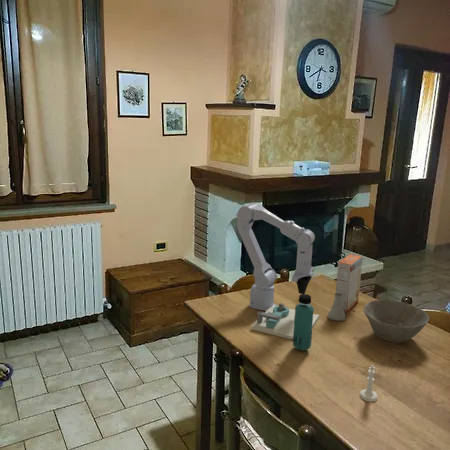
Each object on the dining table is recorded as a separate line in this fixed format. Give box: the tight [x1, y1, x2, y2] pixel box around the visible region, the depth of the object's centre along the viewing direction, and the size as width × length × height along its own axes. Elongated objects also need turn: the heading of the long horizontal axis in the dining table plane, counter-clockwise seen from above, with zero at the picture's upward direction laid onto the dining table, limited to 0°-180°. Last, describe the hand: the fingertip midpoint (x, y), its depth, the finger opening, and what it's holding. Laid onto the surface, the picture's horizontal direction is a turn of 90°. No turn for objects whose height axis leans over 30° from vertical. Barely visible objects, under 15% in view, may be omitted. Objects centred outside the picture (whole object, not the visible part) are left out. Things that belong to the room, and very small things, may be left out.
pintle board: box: [250, 302, 320, 341], centre depth 171 cm, size 20×22×5 cm
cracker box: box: [335, 253, 363, 313], centre depth 187 cm, size 14×6×21 cm, turn 144°
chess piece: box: [359, 364, 378, 403], centre depth 127 cm, size 5×5×10 cm
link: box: [266, 305, 290, 328], centre depth 172 cm, size 17×6×2 cm, turn 156°
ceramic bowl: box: [363, 299, 430, 343], centre depth 162 cm, size 22×23×10 cm
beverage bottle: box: [292, 293, 315, 351], centre depth 150 cm, size 6×7×20 cm
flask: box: [327, 292, 347, 322], centre depth 176 cm, size 7×7×10 cm
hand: (301, 293), depth 176 cm, fingers closed
